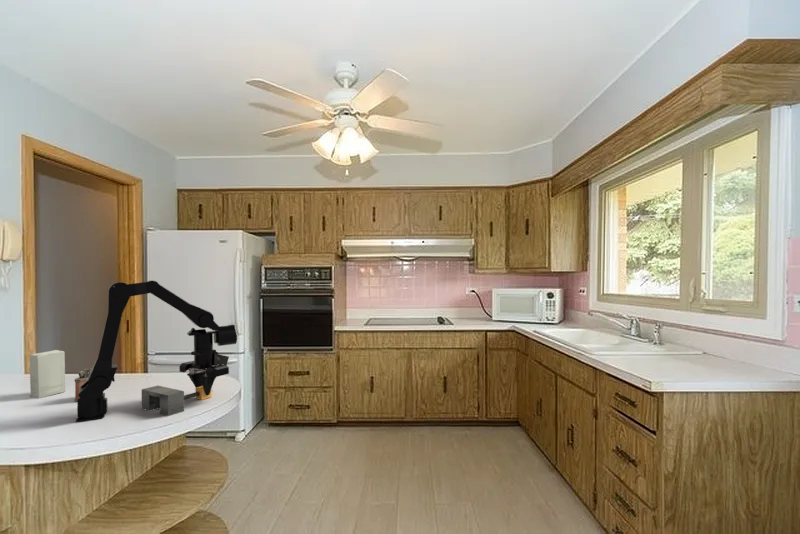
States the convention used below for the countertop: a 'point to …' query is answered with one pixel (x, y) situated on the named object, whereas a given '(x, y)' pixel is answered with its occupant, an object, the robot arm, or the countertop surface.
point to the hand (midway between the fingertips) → (204, 394)
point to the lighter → (81, 381)
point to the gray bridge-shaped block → (163, 400)
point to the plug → (198, 394)
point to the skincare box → (47, 373)
